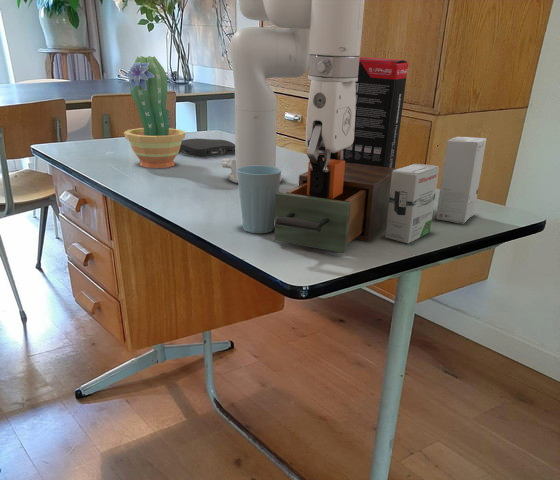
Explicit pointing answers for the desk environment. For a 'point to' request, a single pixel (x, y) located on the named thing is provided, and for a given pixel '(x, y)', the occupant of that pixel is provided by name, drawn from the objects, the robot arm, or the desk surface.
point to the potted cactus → (152, 115)
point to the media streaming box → (206, 147)
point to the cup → (258, 196)
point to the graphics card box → (377, 112)
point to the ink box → (411, 202)
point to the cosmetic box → (460, 179)
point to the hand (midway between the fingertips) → (325, 191)
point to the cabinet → (378, 193)
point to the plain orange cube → (332, 177)
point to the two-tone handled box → (320, 218)
